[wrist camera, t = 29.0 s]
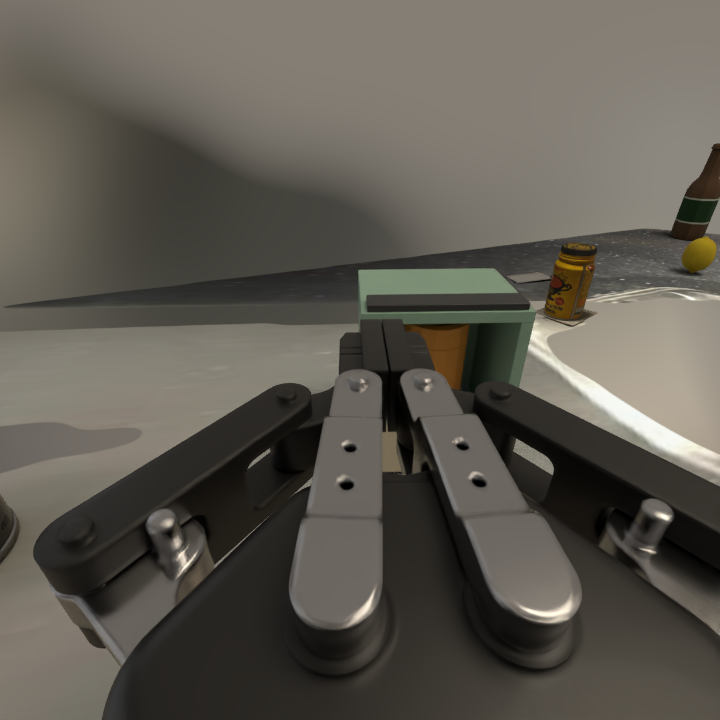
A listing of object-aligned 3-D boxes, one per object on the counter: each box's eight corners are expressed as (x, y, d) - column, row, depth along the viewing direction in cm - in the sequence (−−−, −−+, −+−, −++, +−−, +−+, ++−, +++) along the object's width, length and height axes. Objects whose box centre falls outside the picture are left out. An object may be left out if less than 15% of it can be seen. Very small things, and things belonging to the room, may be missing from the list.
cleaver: (504, 278, 90) (516, 286, 86) (505, 273, 90) (517, 280, 85) (559, 272, 92) (574, 279, 88) (561, 266, 92) (575, 273, 87)
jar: (401, 445, 42) (408, 330, 35) (395, 409, 47) (400, 303, 40) (459, 444, 42) (477, 330, 35) (447, 408, 47) (461, 303, 40)
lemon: (712, 274, 90) (728, 238, 86) (696, 278, 88) (712, 240, 84) (686, 267, 95) (700, 232, 90) (670, 271, 93) (684, 235, 88)
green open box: (361, 466, 41) (361, 306, 32) (359, 400, 50) (358, 264, 42) (501, 463, 41) (538, 304, 32) (472, 399, 51) (495, 262, 42)
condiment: (532, 312, 73) (548, 245, 67) (559, 301, 77) (575, 237, 71) (572, 327, 68) (592, 255, 62) (598, 314, 72) (619, 246, 66)
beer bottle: (701, 236, 119) (740, 143, 107) (702, 242, 114) (743, 144, 102) (669, 233, 123) (703, 142, 111) (669, 238, 118) (704, 144, 105)
